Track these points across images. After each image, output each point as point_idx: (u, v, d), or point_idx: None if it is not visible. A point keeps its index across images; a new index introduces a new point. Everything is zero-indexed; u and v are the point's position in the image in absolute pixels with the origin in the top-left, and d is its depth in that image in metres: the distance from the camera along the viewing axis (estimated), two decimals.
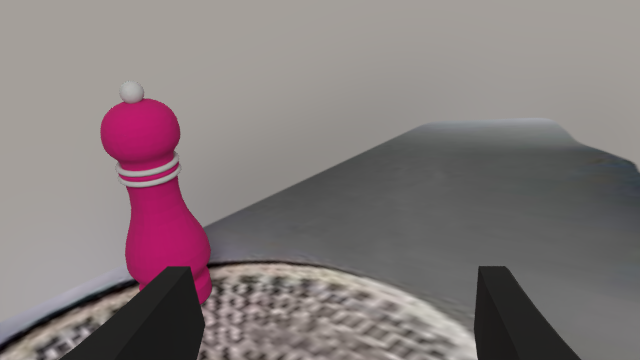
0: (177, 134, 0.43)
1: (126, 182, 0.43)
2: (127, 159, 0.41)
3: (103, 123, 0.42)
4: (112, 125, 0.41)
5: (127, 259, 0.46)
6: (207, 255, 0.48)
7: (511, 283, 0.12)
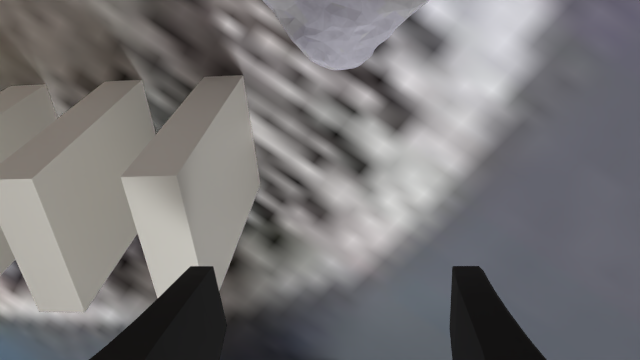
0: None
1: None
2: None
3: None
4: None
5: None
6: None
7: (483, 283, 0.12)
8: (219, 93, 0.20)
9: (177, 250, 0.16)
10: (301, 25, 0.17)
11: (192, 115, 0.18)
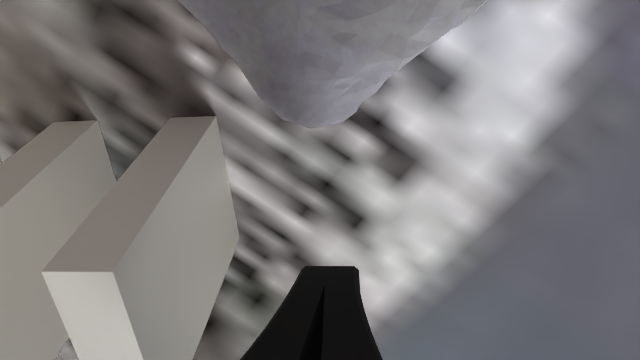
0: None
1: None
2: None
3: None
4: None
5: None
6: None
7: (349, 282, 0.12)
8: (185, 142, 0.17)
9: (120, 356, 0.13)
10: (269, 78, 0.14)
11: (148, 174, 0.15)
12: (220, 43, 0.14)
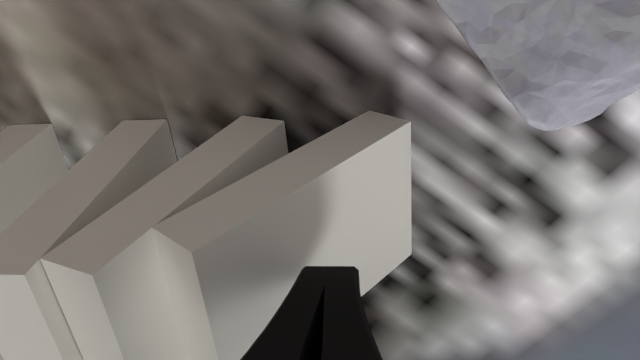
0: None
1: None
2: None
3: None
4: None
5: None
6: None
7: (349, 282, 0.12)
8: (358, 141, 0.16)
9: (199, 327, 0.13)
10: (523, 79, 0.13)
11: (300, 165, 0.15)
12: (468, 42, 0.13)
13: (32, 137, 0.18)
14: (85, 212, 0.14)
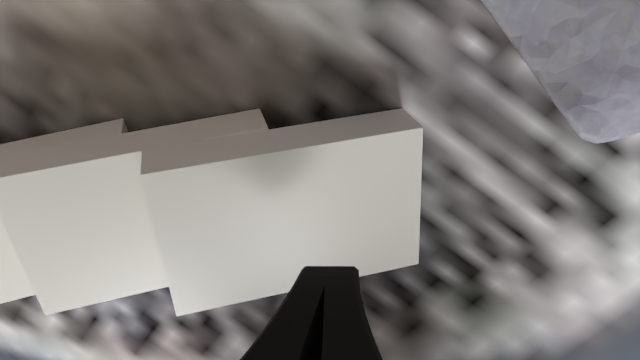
0: None
1: None
2: None
3: None
4: None
5: None
6: None
7: (349, 282, 0.12)
8: (354, 132, 0.16)
9: None
10: (577, 92, 0.13)
11: (286, 137, 0.16)
12: None
13: None
14: None
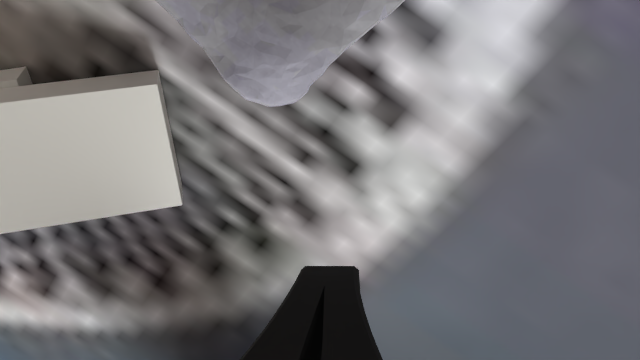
0: None
1: None
2: None
3: None
4: None
5: None
6: None
7: (349, 282, 0.12)
8: (100, 86, 0.19)
9: None
10: (231, 63, 0.17)
11: (44, 89, 0.19)
12: (190, 34, 0.17)
13: None
14: None
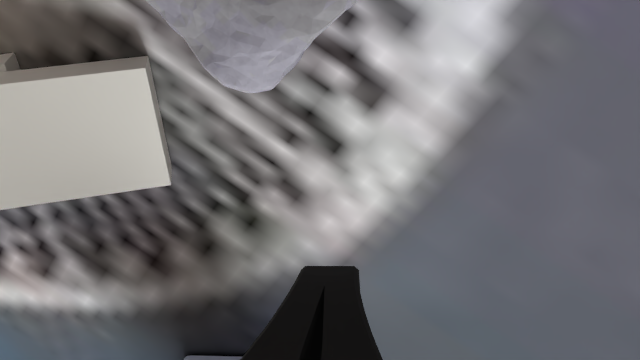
0: None
1: None
2: None
3: None
4: None
5: None
6: None
7: (349, 282, 0.12)
8: (92, 70, 0.20)
9: None
10: (210, 52, 0.18)
11: (39, 73, 0.20)
12: (172, 26, 0.18)
13: None
14: None
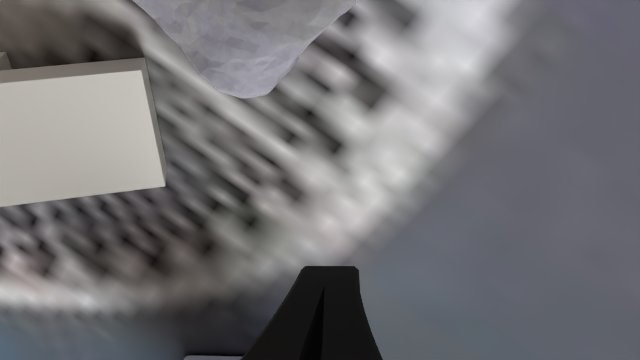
0: None
1: None
2: None
3: None
4: None
5: None
6: None
7: (349, 282, 0.12)
8: (88, 71, 0.20)
9: None
10: (205, 58, 0.18)
11: (36, 73, 0.20)
12: (167, 32, 0.18)
13: None
14: None
